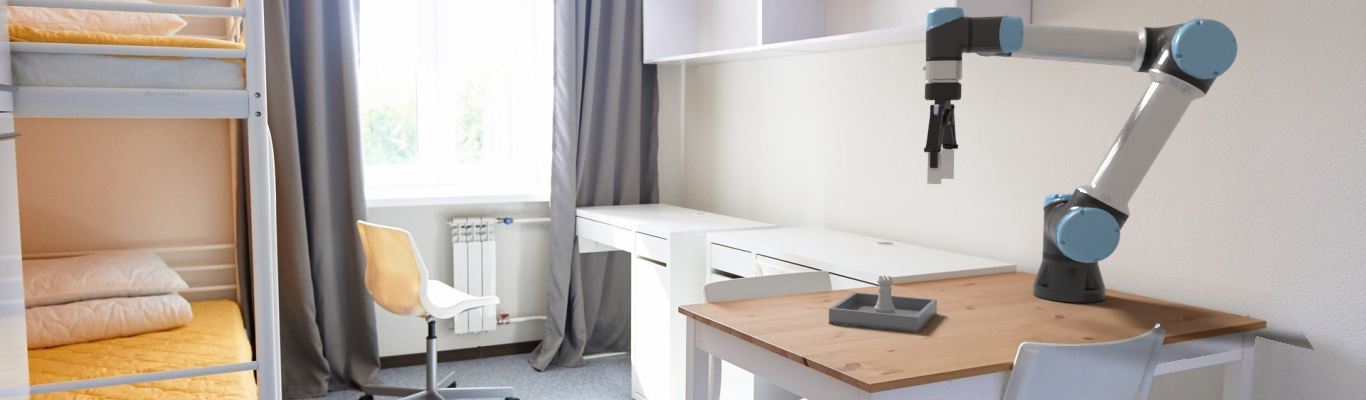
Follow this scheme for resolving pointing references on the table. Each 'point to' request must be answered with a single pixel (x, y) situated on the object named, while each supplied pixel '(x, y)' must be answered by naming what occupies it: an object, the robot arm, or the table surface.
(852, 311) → the tray
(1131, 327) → the table surface
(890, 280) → the rook chess piece
